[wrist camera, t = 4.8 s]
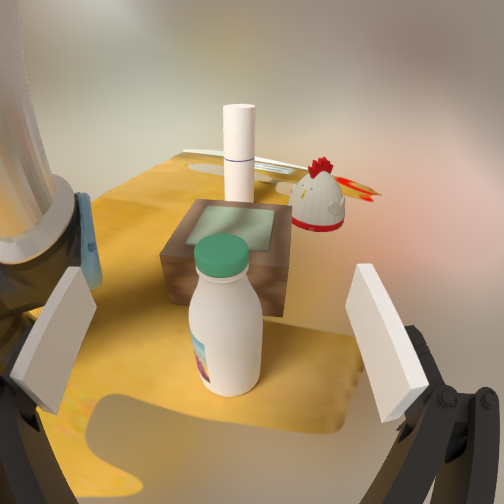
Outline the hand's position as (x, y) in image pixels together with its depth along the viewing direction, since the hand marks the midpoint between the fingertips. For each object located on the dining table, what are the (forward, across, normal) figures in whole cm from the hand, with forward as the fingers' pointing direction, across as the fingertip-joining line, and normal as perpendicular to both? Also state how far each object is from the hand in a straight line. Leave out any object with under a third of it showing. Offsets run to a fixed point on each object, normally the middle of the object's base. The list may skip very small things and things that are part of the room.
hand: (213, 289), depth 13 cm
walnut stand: (+31, 0, -24) cm, 39 cm away
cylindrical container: (+58, +1, -24) cm, 63 cm away
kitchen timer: (+52, +19, -24) cm, 61 cm away
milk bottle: (+11, -1, -25) cm, 27 cm away
